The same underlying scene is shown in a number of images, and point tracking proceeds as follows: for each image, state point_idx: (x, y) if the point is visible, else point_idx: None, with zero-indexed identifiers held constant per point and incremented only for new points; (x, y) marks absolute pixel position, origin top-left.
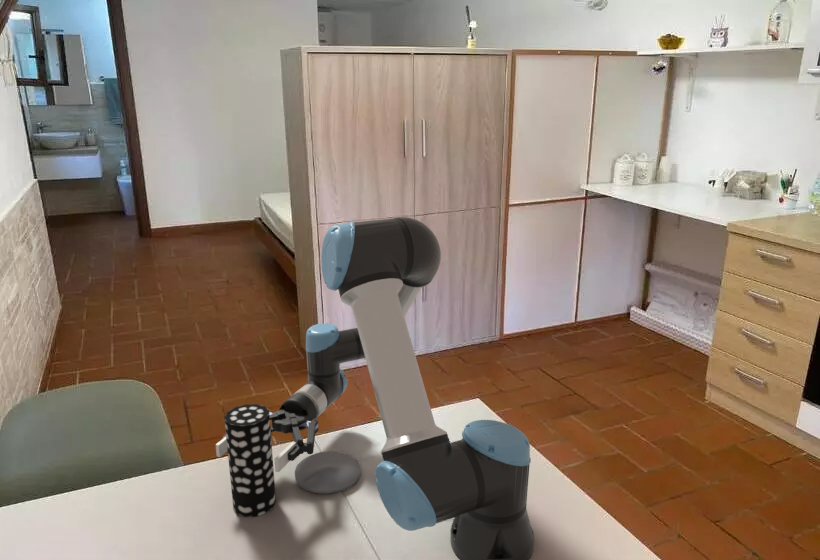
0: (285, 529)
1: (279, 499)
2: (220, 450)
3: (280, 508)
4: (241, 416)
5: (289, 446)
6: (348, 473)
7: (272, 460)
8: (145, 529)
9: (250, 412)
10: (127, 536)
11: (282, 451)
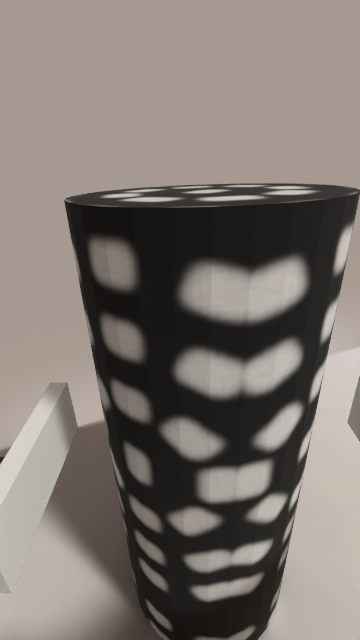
0: (64, 494)
1: (132, 627)
2: (356, 405)
3: (108, 573)
4: (221, 188)
5: (4, 479)
6: None
7: (115, 472)
8: (346, 396)
9: (205, 194)
10: (350, 379)
11: (40, 429)
